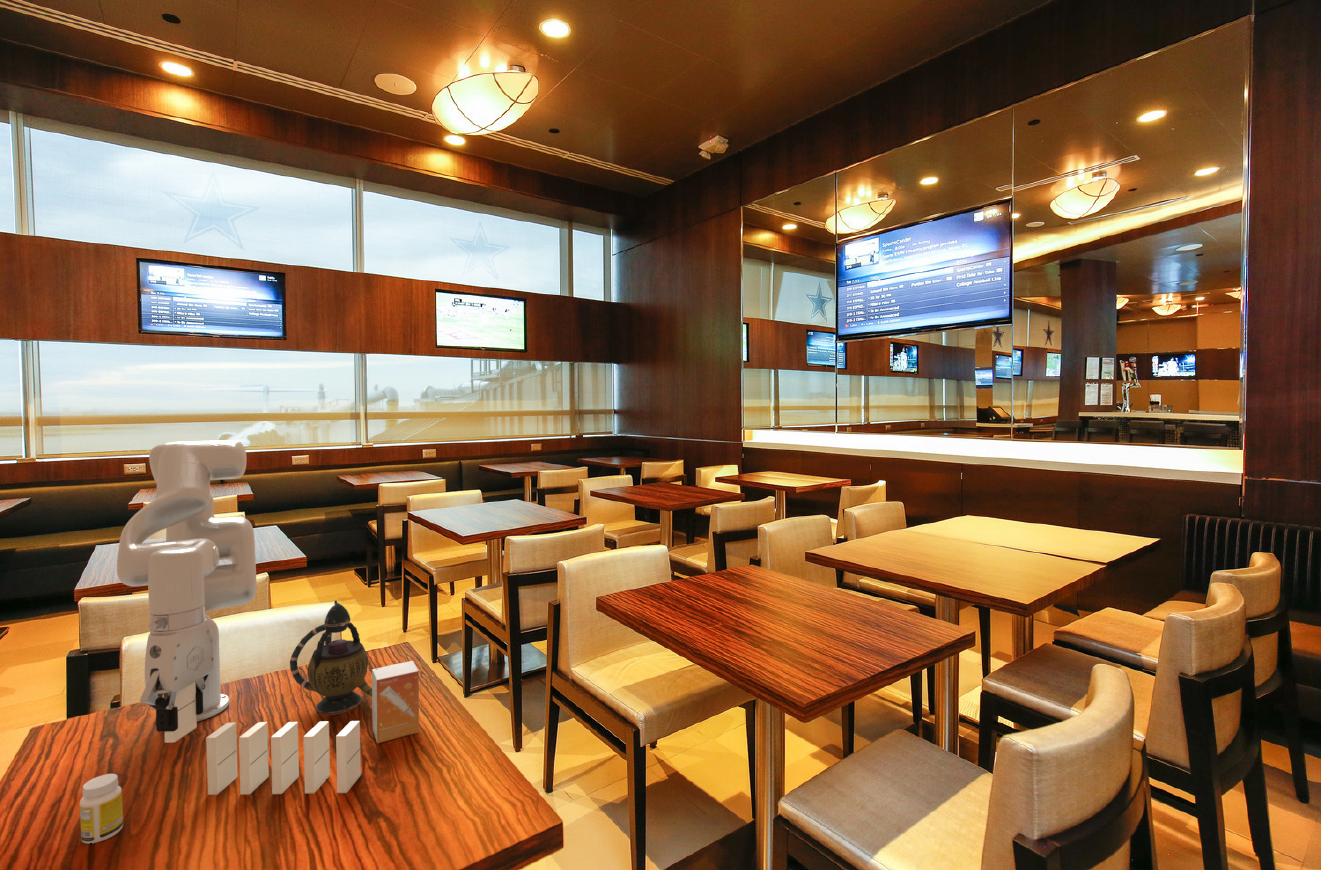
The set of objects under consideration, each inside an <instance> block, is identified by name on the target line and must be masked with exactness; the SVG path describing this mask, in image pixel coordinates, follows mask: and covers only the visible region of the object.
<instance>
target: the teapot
mask: <svg viewBox="0 0 1321 870" xmlns="http://www.w3.org/2000/svg"><path fill="white" fill-rule="evenodd" d="M333 602H334V604H333V606H331V607H330V609H329V610H328V612H327V614H326V616H325V619H324V623H323V624H321V625H318V626H317V627H315V628H313V629H311V631H309V632H308V633H307V634H306V635H304V636H303V637H302V638H301V639H300V641H299V642H298V643H297V645H296V647H295V648H294V650H293V652H292V654H291V656H290V661H289V666H290V667H289V668H290V671H291V675H292V677H293V679H294V681H296V683H297V684H299V685H300V686H302V687H303V688H305V689H306V690H307V691H311V692H316V693H317V694H319V695H321V696H322V697H323V698H322V699H321V700H320V701H318V703H317V704H316V707H315V711H316V710H317V711H316V713H318V712H319V713H318V714H320V713H321V714H320V715H325V714H327V715H326V716H329V715H328V714H330V716H331V715H337V714H343V713H345V712H346V713H347V712H349V711H351V710H353V709H355V708H356V707H358V706H359V705H360V704H361V703H362V700H363V699H362V696H361V694H359V693H357V692H355V690H356V689H357V688H359V689H360V690H361V691H363V692H364V693H365V694H366V695H369V696H370V697H371V698H372V686H370V685H369V684H368V683H367V682H366V679H365V677H366V675H367V673H368V667H369V666H368V665H369V658H368V657H369V656H368V654H367V650H366V649H365V646H364V645H363V643H362V642H361V638H360V634H359V631H358V629H357V627H356V626H355V625H354V624H353V623H352V622H351V615H350V613H349V611H348V610H347V608H346V607H344V605H343V604H341V603H339V602H338V600H333ZM347 629H349V630H350V633H351V637H352V640H347V639H336V640H332V639H333V638H332V636H333V634H335V633H338V634H339V633H342V632H345V631H346V630H347ZM321 632H323V633H322V635H321V637H320V639H319V641H318V642H317V646H316V649H315V650H314V651H313V653H312V655H311V657H310V660H309V663H308V666H307V675H306V676H307V679H305V678H304V677H303V676H302V674H301V673H300V669H299V667H298V659H299V656H300V654H301V652H302V651H303V649H304V647H305V645H306V644H307V643H308V642H310V640H311V639H312V638H313V637H314V636H316V635H317V634H319V633H321Z"/></svg>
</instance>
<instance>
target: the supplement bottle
mask: <svg viewBox="0 0 1321 870" xmlns="http://www.w3.org/2000/svg"><path fill="white" fill-rule="evenodd" d="M123 813H124V811H123V793H122V787H121V786H120V785H119V776H118V775H117V774H116V773H106V774H102V775H99V776H96V777H93V778H92V779H90V780H88V781H86V782H85V783H84V784H83V786H82V798H81V799H80V800H79V818H80V819H79V821H80V837H81V838H80V840H81V842H82V843H83V844H89V845H90V843H92V844H96V843H100V842H102V841H103V842H104V841H106V840H109V839H110V838H112V837H114V836H116V834H118V833H119V832H120V831H121V830H122V829H123V826H124V815H123Z"/></svg>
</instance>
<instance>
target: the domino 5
mask: <svg viewBox="0 0 1321 870" xmlns="http://www.w3.org/2000/svg"><path fill="white" fill-rule="evenodd" d="M329 721H330V720H329ZM329 721H326V720H325V721H318V722H317V723H316V725H314V727H312V728H311V729H310V730H309V731H308V732H307V733H305V735H304V736H303V760H304V763H303V764H304V765H303V766H304V768H303V769H304V794H316V792H317V791H318V790H319V789H320V787H322V786H323V784H324V783H325V782H326V781H327V780H328V779H329V778H330V776H331V763H330V761H331V758H330V757H331V756H330V722H329ZM326 779H327V780H326Z"/></svg>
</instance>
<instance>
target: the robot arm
mask: <svg viewBox="0 0 1321 870" xmlns="http://www.w3.org/2000/svg"><path fill="white" fill-rule="evenodd" d="M148 455H149V457H148V460H149V461H148V462H149V468H150V470H151V474H152V477H153V480H154V481H155V483H156V490H155V491H156V492H155V499H153V500H152V501H151V502H149V503H147V504H146V505H145V506H143V507H142V508H140V509H139V510H138V511H137V512H136V513H134V514H133V516H131V518H130V519H129V520H128V521H127V523H126V524H125V526H124V527H123V528H122V531H121V534H120V538H119V545H118V551H117V559H116V573H117V577H118V580H119V581H120V582H121V583H122V584H123V585H126V586H127V587H128V586H129V587H141V586H143V587H144V586H147V587H148V590H147V594H148V595H147V596H148V618H149V619H148V622H149V624H148V629H149V634H148V637H147V642H146V647H145V648H146V649H145V658H144V659H145V660H144V686H145V688H144V690H143V691H142V694H141V696H140V698H139V701H140V703H143V704H145V705H148V706H149V707H151V708H152V710H153V711H155V722H156V723H155V724H156V728H155V729H156V731H157V732H159V733H160V732H161V733H165V732H169V731H175V730H177V729H178V708H177V707H174V704H175V698H176V693H177V691H179V690H181V689H183V688H185V687H186V686H188V685H190V684H192V683H193V682H196V694H195V695H196V719H197V723H199V722H200V721H204V720H207V719H209V718H212V717H214V716H216V715H219V714H220V713H221V712H223V711H224V710H226V709H227V707H229V705H230V697H229V696H228V695H227V694H225V693H221V667H220V665H221V663H220V661H221V660H220V631H219V627H218V624H217V623H216V622H215V620H213V619H212V617H210V616H209V615H207V614H206V612H208V611H209V612H210V611H214V610H220V609H227V608H233V607H234V608H235V607H238V606H244V605H247V604H249V603H250V602H253V600H255V599H254V598H255V597H256V593H257V565H256V562H257V561H256V544H255V543H256V541H255V533H254V529H253V525H252V523H251V522H250V520H248V519H247V518H245V517H238V516H237V517H236V516H233V517H232V516H231V517H219V518H216V517H215V501H214V498H213V496H212V494H211V490H210V489H211V481H219V480H220V481H221V480H237V479H241V478H242V477H243V476H244V474H245V472H246V468H247V459H248V457H247V451H246V448H245V446H244V444H243V443H242V442H241V441H239V440H198V441H197V440H194V441H190V440H189V441H188V440H187V441H171V442H166V443H165V442H164V443H160V444H157V445H156V446H154V447H153V448H152V449H150V452H149V454H148ZM162 530H165V533H166V534H165V535H166V537H165V541H163V540H162V541H152V542H146V543H145V541H146V540H147V539H148V538H149V537H151V536H152V535H154V534H156V533H159V532H160V531H162ZM222 560H223V561H225V560H227V561H229V562H231V563H230V564H220V565H219V563H220V561H222ZM163 688H164V689H163ZM167 693H168V697H167V700H166V699H164V696H163V694H167Z"/></svg>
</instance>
